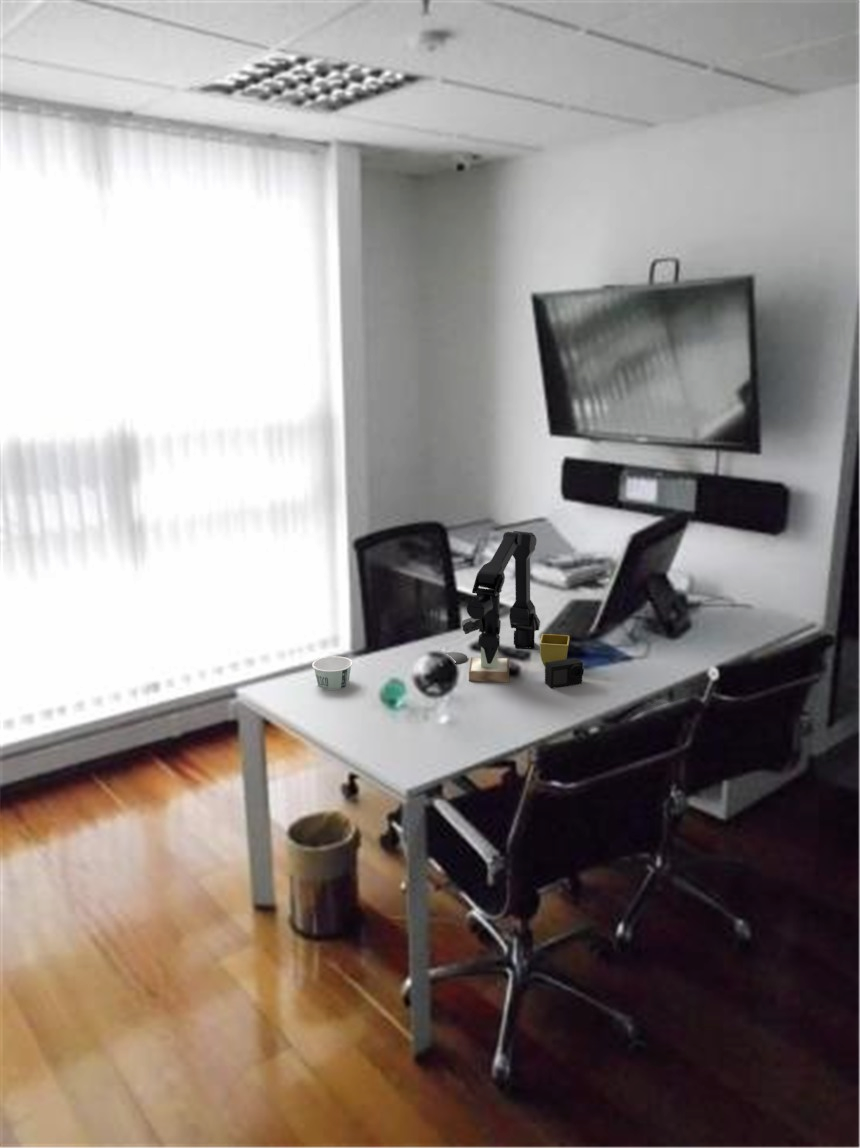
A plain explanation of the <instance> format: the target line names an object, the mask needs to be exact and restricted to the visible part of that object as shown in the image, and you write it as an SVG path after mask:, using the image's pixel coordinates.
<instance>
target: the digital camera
mask: <svg viewBox="0 0 860 1148" xmlns="http://www.w3.org/2000/svg"><path fill="white" fill-rule="evenodd" d="M584 673H585V670H584V662H583V661H581V660H580V659H579V658H577V657H573V658H568V659H567V658H566V659H565V660H558V661H551V662H545V666H544V684H545V685H546V686H547V687H548V688H550V689H556V688H557V689H558V688H565V687H566V688H567V687H570V686H571V687H572V686H577V685H578V686H579V685H582V684H583V676H584Z"/></svg>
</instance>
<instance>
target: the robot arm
mask: <svg viewBox="0 0 860 1148" xmlns="http://www.w3.org/2000/svg"><path fill="white" fill-rule="evenodd" d="M536 545H537V537H536V535H535V534H534V533H533V532H528V531H521V530H514V531H506V532H504V533H503V535H502V540H501V541H500V543H499V545H498V548H497V549H496V551H495V552H494V554H493V556H492V558H491V560H490V561H489V562H486V563H484V564H483V565H482V566H481V568H480V569H479V570H478V572H477V573H476V575H475V576H476V577H475V580H474V584H473V588H472V591H471V593H472V594H475V595H473V596H472V600H471V601H469V602H468V603H467V605H466V613H467V615H468V616H469V618H466V619H463V620H462V621H461V627H462V631H463V632H464V634H465V635H467V634H470V633H472V632H473V633H474V632H476V631H478V632H479V633H480V634H479V635H478V641H477V642H478V646H479V647H480V648H481V647H482V648H483V649H484V651H485V655H486V660H487V663H488V664H491V662H492V660H493V658H494V656H495V653H496V651H497V649H498V650H499V647H500V643H501V641H500V638H501V636H500V633H501V625H502V624H501V619H500V615H501V614H500V606H501V605H500V604H501V603H500V595H501V594H500V593H502V591H503V590H502V588H503V587H504V583H505V582H506V581H505V579H506V576H505V570H506V568H507V566H508V564H509V562H510V560H512V559H511V558H512V557H513V558H514V566H515V567H514V570H515V571H514V575H515V576H514V577H515V578H514V579H515V582H514V583H515V601H514V603H513V605H512V606H511V607H510V608H509V623H510V628H511V629H514V630H513V645H514V648H515V649H535V648H536V646H535V645H536V644H535V634H536V633H535V632H536V631H540V627H541V621H540V619H539V616H538V615H537V614H536V613H537V612H536V605H535V604H534V603H533V601H532V600H531V557H532V555H533V554H534V552H535V551H536Z"/></svg>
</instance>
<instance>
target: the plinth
mask: <svg viewBox="0 0 860 1148" xmlns="http://www.w3.org/2000/svg"><path fill="white" fill-rule="evenodd" d="M468 681H469V682H492V683H509V682H510V658H508V657H498V666H497V668H492V667H481V657H472V656H471V657H470V661H469V669H468Z"/></svg>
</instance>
